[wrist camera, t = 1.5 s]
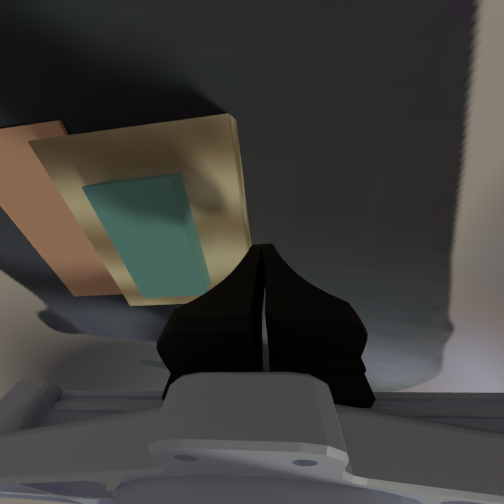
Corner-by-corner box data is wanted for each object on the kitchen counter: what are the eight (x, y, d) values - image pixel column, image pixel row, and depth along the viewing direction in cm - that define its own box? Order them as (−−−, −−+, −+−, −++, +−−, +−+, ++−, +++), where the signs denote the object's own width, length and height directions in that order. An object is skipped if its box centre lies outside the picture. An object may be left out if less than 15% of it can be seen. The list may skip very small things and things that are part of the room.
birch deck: (255, 276, 23) (253, 300, 19) (149, 282, 24) (130, 305, 21) (236, 119, 15) (228, 113, 11) (77, 141, 16) (27, 140, 13)
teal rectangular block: (211, 280, 18) (205, 295, 17) (154, 283, 19) (143, 298, 17) (180, 172, 13) (168, 177, 11) (103, 181, 14) (81, 186, 12)
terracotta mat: (149, 291, 25) (148, 292, 25) (76, 294, 26) (74, 296, 26) (61, 120, 15) (57, 120, 15) (-51, 137, 16) (-56, 137, 16)
